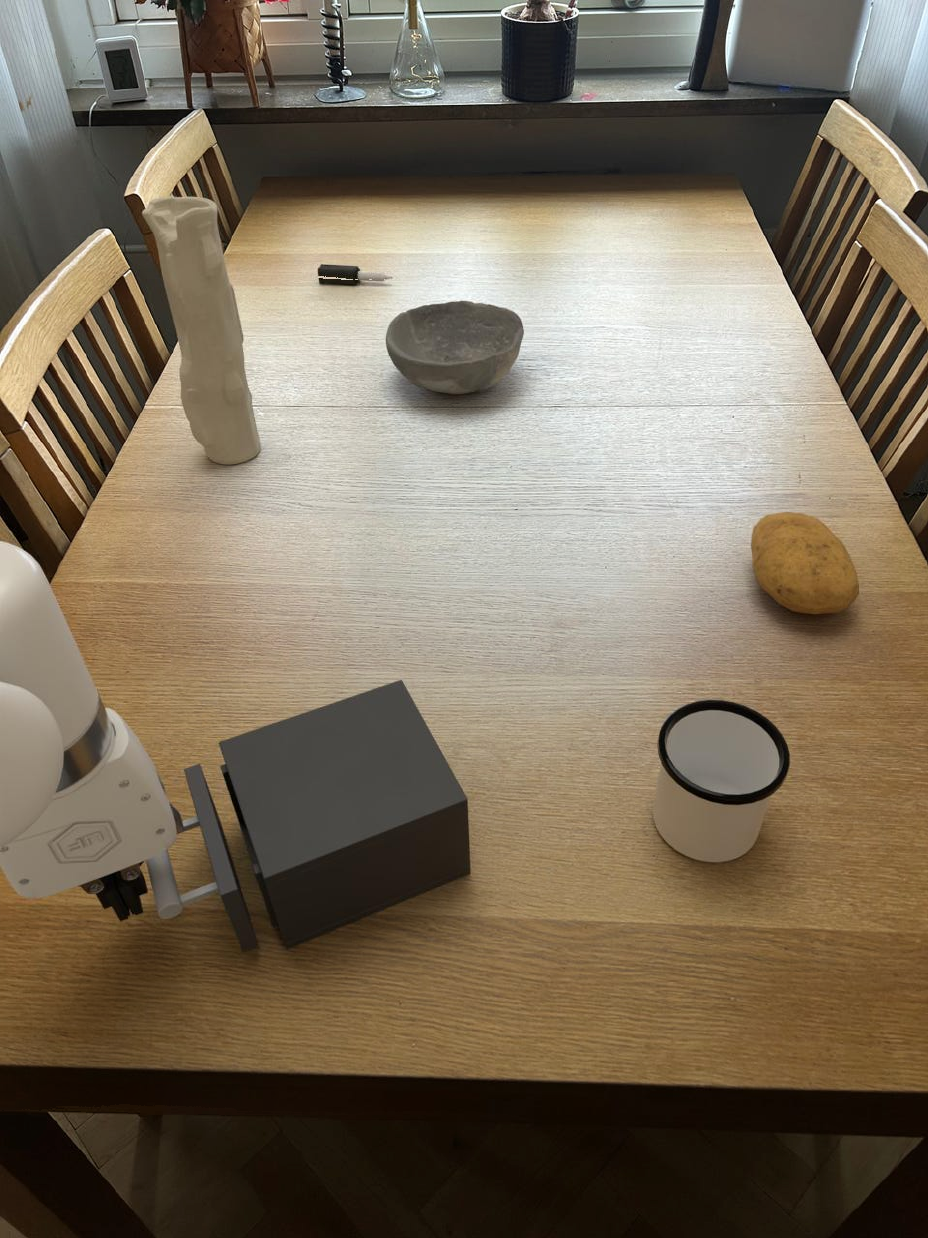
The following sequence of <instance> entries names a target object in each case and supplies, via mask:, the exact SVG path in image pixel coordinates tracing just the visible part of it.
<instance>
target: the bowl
mask: <svg viewBox="0 0 928 1238" xmlns="http://www.w3.org/2000/svg"><path fill="white" fill-rule="evenodd" d="M524 334H525V329H524V324H523V321H522V319H521V317H520V316H519V314H517V313H516V312H515V311H514V310H511V309H509V308H506V307H501V306H497V305H494V304H490V303H487V304H486V303H483V302H473V301H469V300H459V301H457V300H455V301H448V302H440V303H432V304H424V305H421V306H417V307H415V308H410V309H408V310H406V311H402V312H400V313H399V314H398V315H397V316H395V317H394V318H393V319H392V320H391V321H390V323H389V324H388V327H387V330H386V334H385V347H386V352H387V354H388V357H389V359H390V361H391V362H392V364H393V365H394V367H395V368H396V369H397V371H398V372H399V373H400V374H401V375H402V376H404V378H406V379H407V381H409V382H410V383H412V384H413V385H415V386H417V387H420V388H423V389H425V390H428V391H429V392H436V393H442V394H450V395H464V394H472V393H474V392H479V391H485V390H487V389H490V388H491V387H494V386H496V385H498V384H499V383H500V382H501V381H502V380H503V379H504V378H505V377H506V376H507V374H509V372H510V371H511V369H512V367H513V366H514V364H515V362H516V361H517V360H518V357H519V354H520V350H521V345H522V342H523V339H524Z"/></svg>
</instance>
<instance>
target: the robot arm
mask: <svg viewBox="0 0 928 1238" xmlns="http://www.w3.org/2000/svg"><path fill="white" fill-rule="evenodd" d="M159 773H160V772H159V771H158V769H157V767H156V766H155V764H154V761H152V759H151V757H150V755H149V754H148V752H147V750H146V749H145V747H144V745H143V744H142V742H141V740H140V739H139V738H138V735H137V734H135V732H134V731H133V730H132V728H131V727H130V726H129V724H128V723H127V722H126V721H125V720H124V719H123V717H122V716H121V715H120V714H119V713H118V712H117V711H115V710H114V709H112V708H110V707H105V705H104V703H103V700H102V697H101V696H100V694H99V692H98V689H97V687H96V685H95V682H94V680H93V678H92V676H91V674H90V671H89V669H88V667H87V664H86V662H85V660H84V658H83V655H82V654H81V650H80V649H79V647H78V645H77V643H76V639H75V638H74V635H73V633H72V631H71V629H70V627H69V625H68V622H67V620H66V617H65V616H64V614H63V611H62V608H61V607H60V605H59V602H58V600H57V598H56V595H55V593H54V591H53V589H52V586H51V584H50V582H49V580H48V578H47V576H46V575H45V572H44V570H43V568H42V567H41V565H40V563H39V562H38V561H37V560H36V559H35V558H34V557H33V556H32V555H31V554H30V553H29V552H27V551H26V550H24V549H23V548H21V547H19V546H17V545H14V544H12V543H10V542H7V541H2V540H0V868H1V870H2V872H3V874H4V876H5V878H6V880H7V881H8V883H9V884H10V886H11V887H12V889H13V890H14V891H15V892H16V893H17V895H19V896H21V897H23V898H25V899H41V898H47V897H50V896H53V895H57V894H59V893H61V892H65V891H67V890H70V889H74V888H76V887H78V888H79V887H80V888H82V890H83V891H84V892H85V893H86V894H88V895H95V896H96V898H97V899H98V901H99V903H100V904H101V906H102V908H103V909H104V910H107V909H109V908H112V909H113V912H114V913H115V915H116V917H117V918H118V920H119V922H121V923H122V922H123V921H126V920H128V919H129V917H131V915H133V916H134V915H135V916H139V915H141V914H143V913H144V909H143V904H142V900H141V896H143V895H146V894H148V893H149V891H148V885H147V883H146V877H145V876H144V873H143V871H142V869H141V866H142V865H143V864H144V862H146V860H147V859H150V858H152V857H154V856H157V855H159V854H160V853H162V852H164V851H165V850H167V849H168V850H169V849H170V848H171V847H172V846H173V845H174V844H175V843H176V841H177V839H178V835H180V834H182V833H183V832H182V831H183V830H184V826H183V823H182V821H183V819H182V816H181V813H180V812H179V810H178V809H176V808H175V806H174V805H173V804H171V803H170V801H169V799H168V797H167V795H166V786H165V785H164V781H163V780H162V778H161V775H160V774H159ZM181 832H182V833H181Z"/></svg>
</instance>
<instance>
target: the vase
mask: <svg viewBox="0 0 928 1238" xmlns="http://www.w3.org/2000/svg"><path fill="white" fill-rule="evenodd" d="M141 215H142V217H143V218H144V220H145V222H146V224H147V225H148V227H149V228H150V230H151V232H152V234H153V236H154V239H155V243H156V247H157V251H158V258H159V264H160V270H161V276H162V280H163V285H164V288H165V293H166V297H167V301H168V304H169V308H170V312H171V316H172V321H173V323H174V324H173V325H174V328H175V332H176V337H177V341H178V346H179V350H180V356H181V360H180V366H179V368H178V369H179V381H180V400H181V401H180V402H181V405H182V409H183V411H184V414H185V417H186V419H187V420H188V422H189V428H190V432H191V434H192V436H193V438H194V439H195V441H196V442H197V443H198V444H200V445H201V446H202V447H203V448H204V452H205V454H206V455H207V457H208V458H209V459H210V461H212V462H215V463H216V464H219V465H237V464H241V463H244V462H247V461H249V460H252V459H254V458H255V457H256V456H258V454H259V453H260V451H261V438H260V434H259V430H258V426H257V421H256V416H255V412H254V411H255V410H254V406H253V395H252V391H251V390H250V387H249V383H248V379H247V374H246V367H245V366H246V365H245V353H244V345H243V343H244V340H245V339H244V331H243V328H242V323H241V318H240V314H239V308H238V304H237V299H236V294H235V293H236V292H235V289H234V286H233V284H232V283H231V282H230V279H229V274H228V273H229V272H228V270H227V265H226V264H227V263H226V260H225V255H224V250H223V247H222V246H223V245H222V242H221V241H222V240H221V236H220V232H219V226H218V206H217V204H216V203H215V202H214V201H213V200H212V199H208V198H206V197H199V196H174V195H167V196H160V197H156V198H153V199H151V200H150V201H149V202H148V205H147V206H146V207H145V208H144V209H143V210H142V213H141Z"/></svg>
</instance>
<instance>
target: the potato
mask: <svg viewBox="0 0 928 1238" xmlns="http://www.w3.org/2000/svg"><path fill="white" fill-rule="evenodd" d="M750 549H751V557H752V568H753V573H754V575H755V580H756V581H757V582H758V584H759V586H760V587H761V589H762V590H764V592H766V593H767V594H768V595H769V596H771V597H772V598H773V599H774V600H775V601H776V602H777V604H779V605H780V606H783V607H785V608H787V609H789V610H790V611H792V612H795V613H801V614H808V615H809V614H810V615H820V614H821V615H822V614H831V613H840V612H842V611H843V610H844V609H846V608H847V607H849V606H850V605H852V604H853V603H855V601H856V600H857V598H858V597H859V596H860V584H859V578H858V571H857V570H856V567H855V564H854V562H853V560H852V558H851V556H850V554H849V552H848V550H847V549H846V547H845V545H844V543H843V542H842V540H841V539H840V538H839V537H838V536H837V535H836V534H834V532H833V531H832V530H831V529H830V528H829V526H827V525H826V524H825V523H824V522H823V521H821V520H820V519H819V518H818V517H814V516H811V515H809V514H804V513H803V512H791V511H784V512H777V513H771V514H766V515H764V516H762V517H761V518H760V519H759V520H758V522H757V523H756V524H755V525H754V526H753V528H752V532H751V541H750Z"/></svg>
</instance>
